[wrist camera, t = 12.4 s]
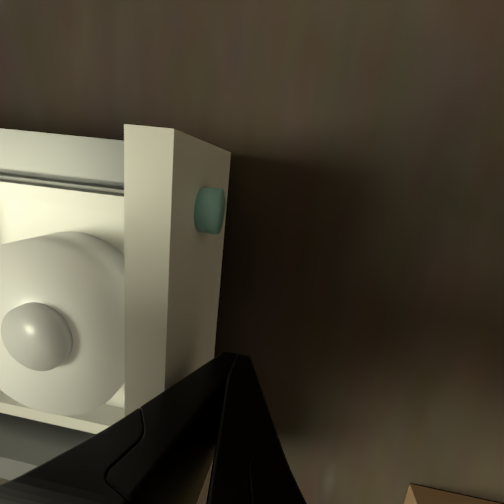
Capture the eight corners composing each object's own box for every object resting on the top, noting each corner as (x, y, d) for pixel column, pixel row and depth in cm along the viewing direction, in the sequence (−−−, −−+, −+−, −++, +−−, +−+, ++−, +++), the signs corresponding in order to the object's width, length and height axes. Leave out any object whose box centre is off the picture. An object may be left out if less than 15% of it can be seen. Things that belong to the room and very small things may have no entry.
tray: (217, 442, 13) (173, 589, 9) (-37, 387, 15) (-196, 486, 10) (245, 153, 10) (199, 130, 5) (-80, 121, 12) (-338, 80, 7)
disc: (153, 394, 12) (123, 439, 10) (15, 365, 12) (-41, 401, 10) (159, 244, 10) (125, 260, 8) (1, 220, 11) (-67, 230, 9)
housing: (185, 422, 14) (143, 514, 10) (-54, 371, 16) (-170, 435, 12) (201, 156, 11) (150, 143, 7) (-97, 125, 13) (-272, 101, 9)
